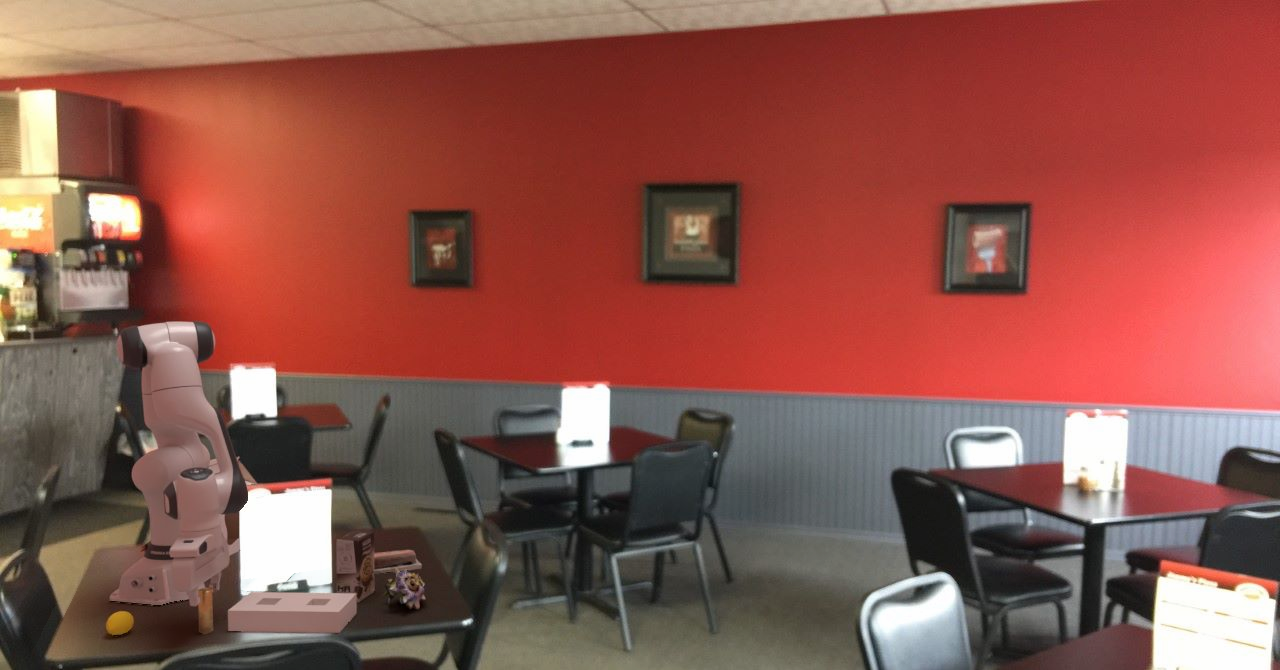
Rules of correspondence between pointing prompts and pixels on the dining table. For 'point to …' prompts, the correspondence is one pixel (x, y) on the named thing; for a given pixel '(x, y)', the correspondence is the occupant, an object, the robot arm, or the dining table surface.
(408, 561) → the packaged product
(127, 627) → the lemon
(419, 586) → the passion flower
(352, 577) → the coffee box
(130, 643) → the dining table surface
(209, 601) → the brass pin
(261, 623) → the socket block
